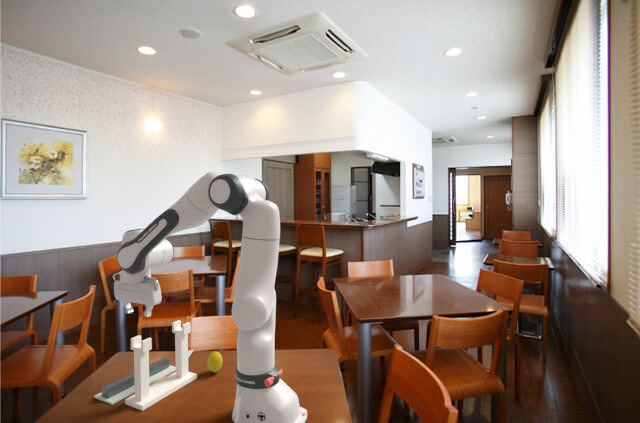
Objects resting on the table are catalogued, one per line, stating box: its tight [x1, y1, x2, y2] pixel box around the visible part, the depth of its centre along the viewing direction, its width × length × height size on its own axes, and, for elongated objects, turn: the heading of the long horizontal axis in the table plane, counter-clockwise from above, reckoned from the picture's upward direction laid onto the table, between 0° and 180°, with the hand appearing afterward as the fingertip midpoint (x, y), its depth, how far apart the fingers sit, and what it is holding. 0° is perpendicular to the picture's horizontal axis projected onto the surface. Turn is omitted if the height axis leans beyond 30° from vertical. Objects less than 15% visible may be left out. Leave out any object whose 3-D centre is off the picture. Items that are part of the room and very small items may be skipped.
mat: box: [93, 364, 176, 405], centre depth 125 cm, size 9×26×1 cm, turn 154°
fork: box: [188, 349, 195, 359], centre depth 142 cm, size 3×21×3 cm, turn 10°
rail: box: [101, 357, 170, 399], centre depth 125 cm, size 3×24×3 cm, turn 154°
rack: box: [124, 319, 198, 411], centre depth 119 cm, size 8×22×20 cm, turn 154°
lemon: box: [206, 350, 224, 373], centre depth 132 cm, size 6×6×8 cm
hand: (138, 314), depth 124 cm, fingers open, 8 cm apart
